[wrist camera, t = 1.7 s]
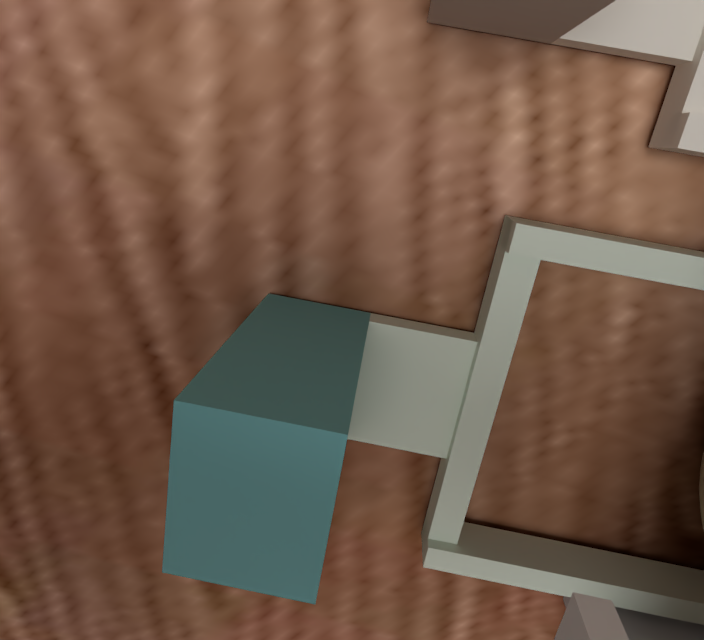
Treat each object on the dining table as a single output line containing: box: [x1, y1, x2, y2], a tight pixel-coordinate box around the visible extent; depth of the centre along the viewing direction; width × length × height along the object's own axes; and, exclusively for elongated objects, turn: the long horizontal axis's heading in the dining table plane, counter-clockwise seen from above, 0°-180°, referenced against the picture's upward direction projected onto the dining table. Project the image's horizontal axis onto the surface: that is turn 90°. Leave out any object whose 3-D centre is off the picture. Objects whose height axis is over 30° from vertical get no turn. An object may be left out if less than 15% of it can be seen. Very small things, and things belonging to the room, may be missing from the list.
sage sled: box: [162, 215, 704, 625], centre depth 17 cm, size 28×14×9 cm, turn 80°
